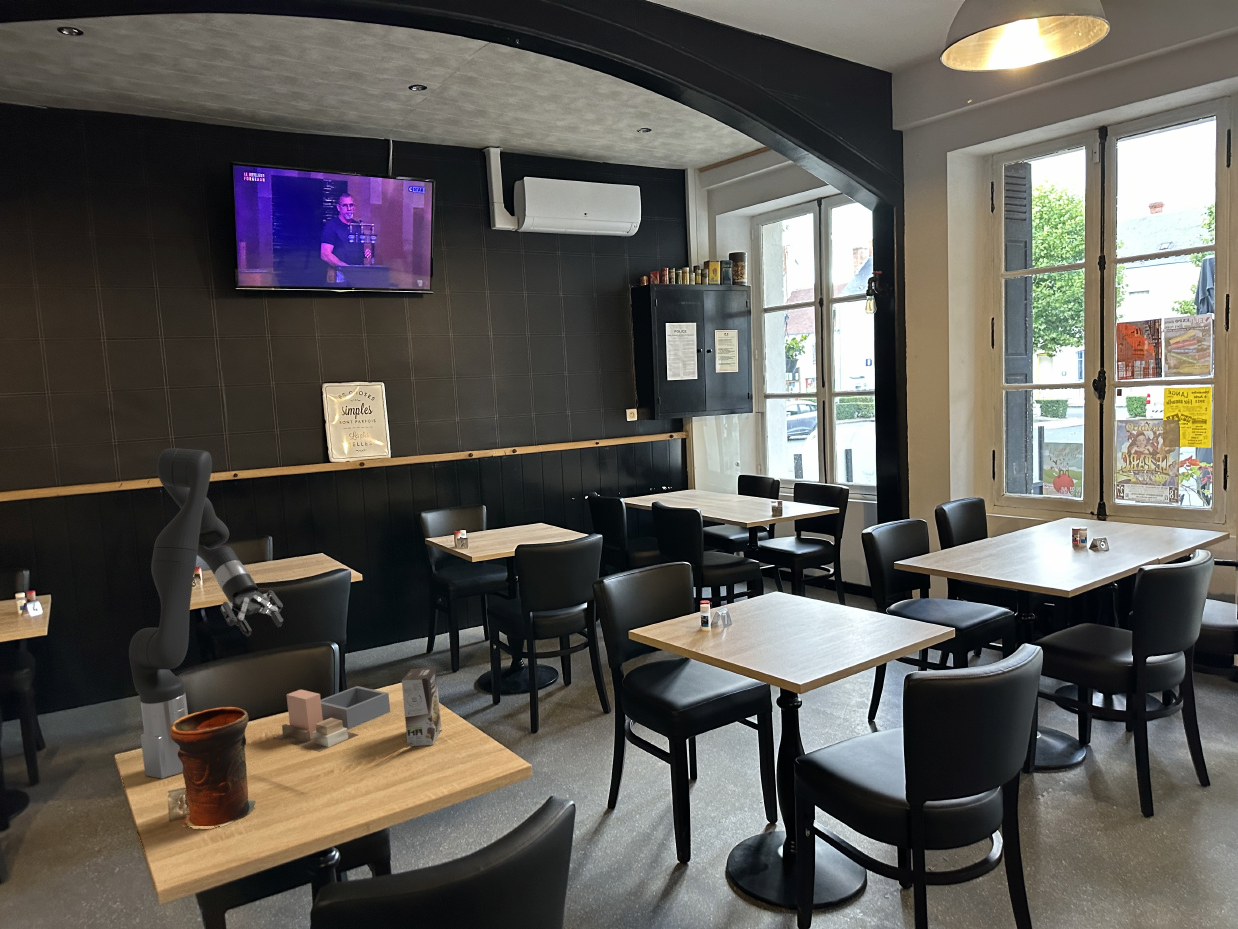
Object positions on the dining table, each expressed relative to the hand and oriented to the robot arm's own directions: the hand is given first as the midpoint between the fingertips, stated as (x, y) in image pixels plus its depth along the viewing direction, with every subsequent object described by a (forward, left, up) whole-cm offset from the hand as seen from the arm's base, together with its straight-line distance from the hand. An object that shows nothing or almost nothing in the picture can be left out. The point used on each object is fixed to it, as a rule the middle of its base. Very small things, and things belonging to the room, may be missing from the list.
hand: (265, 629), depth 220 cm
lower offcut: (-4, -23, -25) cm, 34 cm away
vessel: (-38, -26, -26) cm, 53 cm away
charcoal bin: (+10, -17, -26) cm, 32 cm away
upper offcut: (-4, -23, -22) cm, 32 cm away
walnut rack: (-3, -17, -26) cm, 31 cm away
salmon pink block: (-2, -13, -25) cm, 28 cm away
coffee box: (+6, -43, -26) cm, 51 cm away
